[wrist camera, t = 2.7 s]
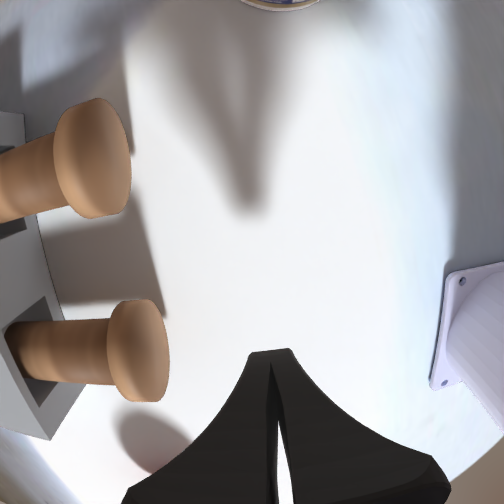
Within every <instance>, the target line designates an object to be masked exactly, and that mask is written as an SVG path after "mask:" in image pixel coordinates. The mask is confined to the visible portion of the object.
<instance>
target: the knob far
mask: <svg viewBox="0 0 504 504" xmlns="http://www.w3.org/2000/svg"><path fill="white" fill-rule="evenodd" d="M4 339H5V341H6V343H7V346H8V348H9V350H10V352H11V355H12V357H13V359H14V361H15V363H16V365H17V367H18V369H19V372H20V374H21V376H22V378H30V379H38V380H47V381H57V382H68V383H81V384H98V385H116V387H117V389H118V391H119V392H120V393H121V395H122V396H123V397H124V398H125V399H127V400H129V401H133V402H157V401H159V400H161V398H162V397H163V396H164V394H165V391H166V388H167V385H168V379H169V367H170V359H169V346H168V339H167V334H166V329H165V325H164V322H163V319H162V316H161V314H160V312H159V310H158V308H157V307H156V305H155V304H154V303H153V302H152V301H151V300H149V299H141V300H130V301H122V302H120V303H119V304H118V305H117V306H116V307H115V309H114V310H113V312H112V315H111V317H110V318H105V319H85V320H61V321H20V322H14V323H12V324H11V325H9V327H8V328H7V329H6V331H5V334H4Z"/></svg>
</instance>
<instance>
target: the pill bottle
mask: <svg viewBox="0 0 504 504" xmlns="http://www.w3.org/2000/svg"><path fill="white" fill-rule="evenodd" d="M241 1H242V2H244V3H246V4H248V5H251V6H253V7H256V8H260V9H265V10H270V11H293V10H299V9H303V8H306V7H309V6H311V5H313V4H315V3H317V2H318V1H320V0H241Z"/></svg>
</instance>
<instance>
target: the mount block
mask: <svg viewBox="0 0 504 504" xmlns="http://www.w3.org/2000/svg"><path fill="white" fill-rule="evenodd" d="M25 143H26V140H25V126H24V114H19V113H11V112H2V111H0V155H1V154H3V153H5V152H7V151H9V150H12V149H14V148H16V147H18V146H21V145H23V144H25ZM61 320H64V317H63V314H62V311H61V308H60V305H59V302H58V299H57V296H56V293H55V290H54V286H53V283H52V279H51V276H50V272H49V269H48V265H47V261H46V258H45V254H44V250H43V246H42V241H41V237H40V232H39V228H38V223H37V218H36V214H33V215H29V216H26V217H22V218H18V219H15V220H11V221H8V222H5V223H1V224H0V427H2V428H5V429H8V430H12V431H15V432H18V433H22V434H25V435H29V436H33V437H37V438H41V439H45V440H49V441H50V440H51V439H52V437H53V436H54V434H55V432H56V431H57V429H58V428H59V426H60V424H61V423H62V421H63V420H64V418H65V416H66V415H67V413H68V412H69V410H70V409H71V407H72V405H73V404H74V402H75V401H76V399H77V398H78V396H79V395H80V393H81V392H82V390H83V389H84V387H85V386H86V384H81V383H68V382H57V381H47V380H38V379H30V378H22V376H21V374H20V372H19V369H18V367H17V365H16V363H15V361H14V359H13V357H12V355H11V352H10V350H9V348H8V346H7V343H6V341H5V339H4V334H5V331H6V329H7V328H8V327H9V325H11V324H12V323H14V322H20V321H61Z"/></svg>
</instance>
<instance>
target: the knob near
mask: <svg viewBox="0 0 504 504" xmlns="http://www.w3.org/2000/svg"><path fill="white" fill-rule="evenodd" d="M130 188H131V160H130V152H129V147H128V142H127V138H126V134H125V131H124V128H123V125H122V123H121V120H120V118H119V116H118V114H117V113H116V111H115V109H114V108H113V107H112V106H111V105H110V103H108V102H107V101H106V100H104V99H101V98H95V99H92V100H89V101H86V102H84V103H81V104H78V105H75V106H73V107H70V108H68V109H67V110H66V111H65V112H64V113H63V114H62V116H61V117H60V119H59V122H58V124H57V127H56V130H55V132H53V133H50V134H47V135H45V136H42V137H40V138H37V139H35V140H32V141H30V142H28V143H25V144H23V145H21V146H18V147H16V148H14V149H12V150H9V151H7V152H5V153H3V154H1V155H0V224H1V223H5V222H8V221H11V220H15V219H18V218H22V217H26V216H29V215H33V214H37V213H40V212H44V211H48V210H52V209H56V208H60V207H64V206H68V205H70V206H71V207H72V208H73V209H74V211H75V212H77V213H78V214H79V215H80V216H82V217H84V218H88V219H93V218H98V217H103V216H108V215H113V214H118V213H119V212H121V211H122V210H123V209H124V207H125V206H126V204H127V201H128V198H129V194H130Z"/></svg>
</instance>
